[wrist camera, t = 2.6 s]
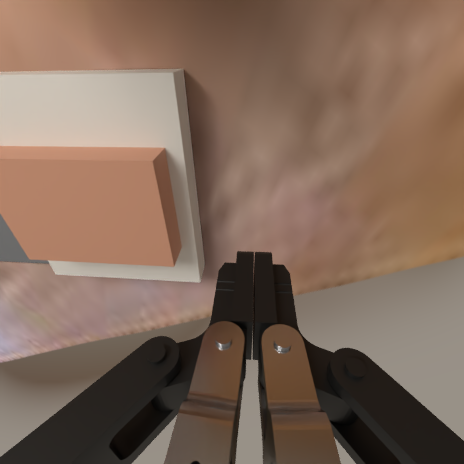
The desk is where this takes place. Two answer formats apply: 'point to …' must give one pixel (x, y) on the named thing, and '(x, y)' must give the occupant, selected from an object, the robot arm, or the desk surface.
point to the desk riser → (112, 141)
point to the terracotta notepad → (90, 204)
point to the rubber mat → (12, 246)
